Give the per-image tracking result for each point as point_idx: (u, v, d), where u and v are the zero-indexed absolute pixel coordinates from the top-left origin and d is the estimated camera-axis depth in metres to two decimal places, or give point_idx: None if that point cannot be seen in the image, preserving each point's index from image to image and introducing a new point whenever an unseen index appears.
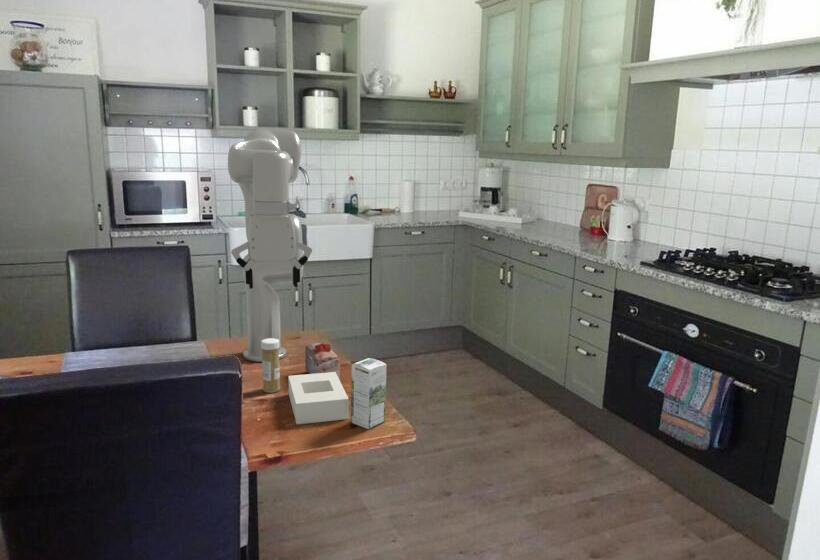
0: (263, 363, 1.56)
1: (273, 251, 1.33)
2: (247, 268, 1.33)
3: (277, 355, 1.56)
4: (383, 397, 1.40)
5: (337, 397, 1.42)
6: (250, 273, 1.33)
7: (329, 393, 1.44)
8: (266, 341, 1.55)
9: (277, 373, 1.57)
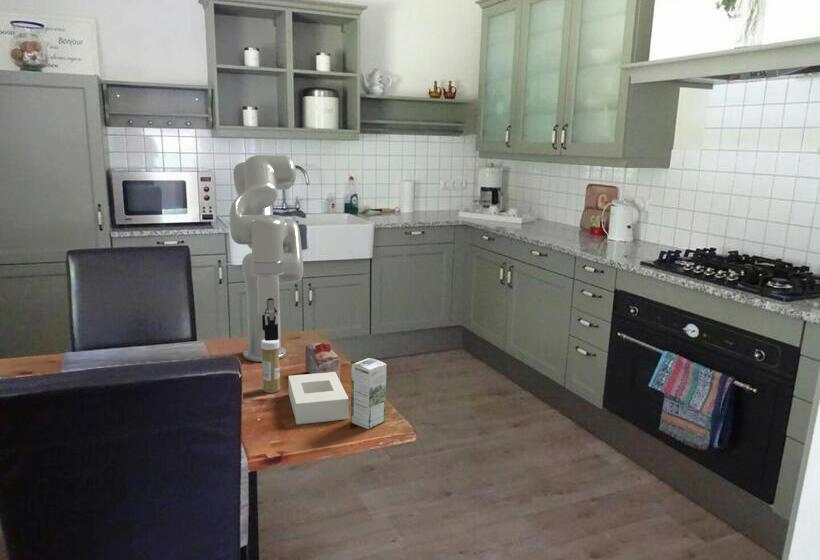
0: (263, 363, 1.56)
1: None
2: None
3: (277, 355, 1.56)
4: (383, 397, 1.40)
5: (337, 397, 1.42)
6: (277, 326, 1.50)
7: (329, 393, 1.44)
8: (266, 341, 1.55)
9: (277, 373, 1.57)
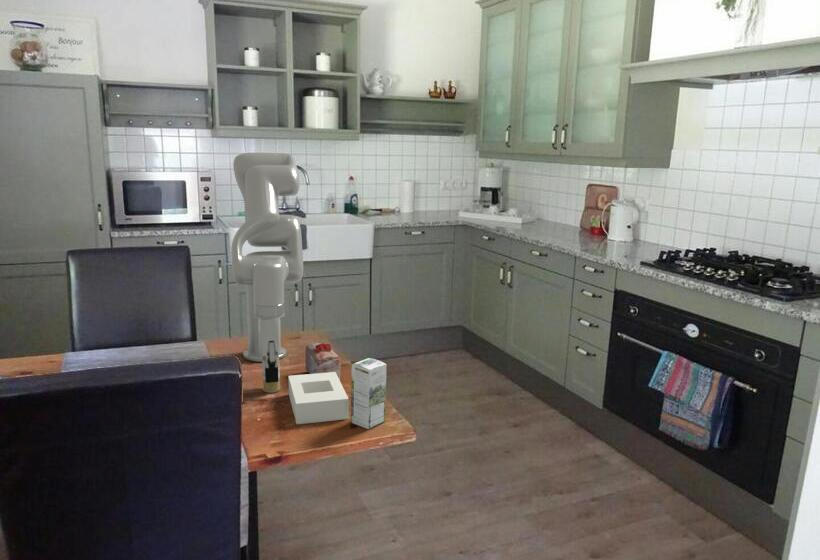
0: (263, 363, 1.56)
1: None
2: None
3: None
4: (383, 397, 1.40)
5: (337, 397, 1.42)
6: None
7: (329, 393, 1.44)
8: None
9: None
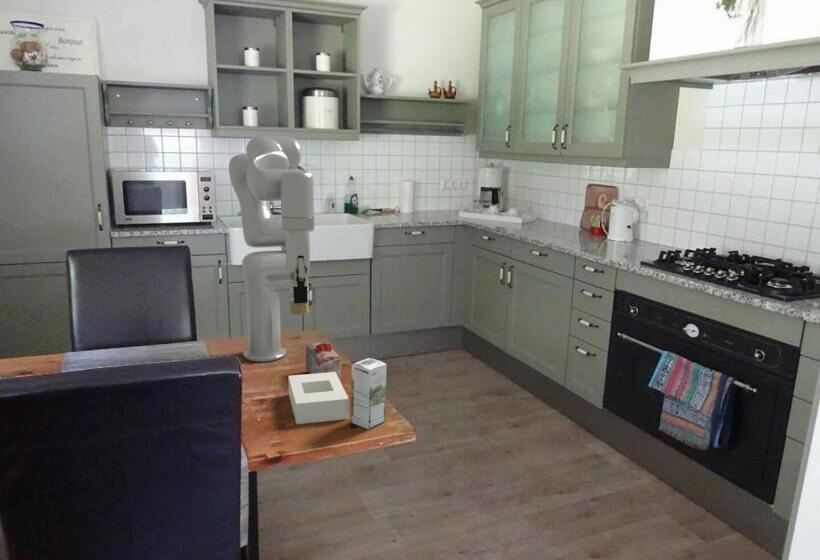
0: (291, 282, 1.45)
1: None
2: None
3: (306, 274, 1.45)
4: (383, 397, 1.40)
5: (337, 397, 1.42)
6: None
7: (329, 393, 1.44)
8: None
9: None
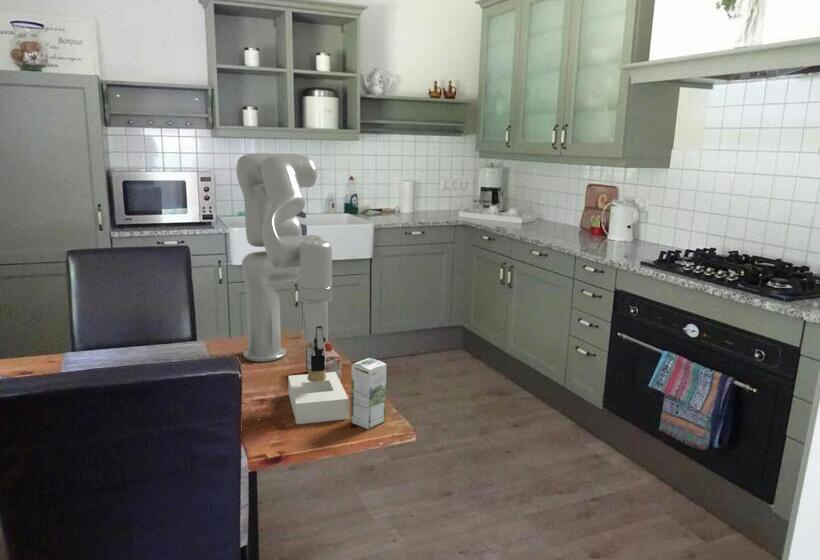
0: (308, 350, 1.45)
1: None
2: None
3: None
4: (383, 397, 1.40)
5: (337, 397, 1.42)
6: (324, 356, 1.45)
7: (329, 393, 1.44)
8: None
9: None
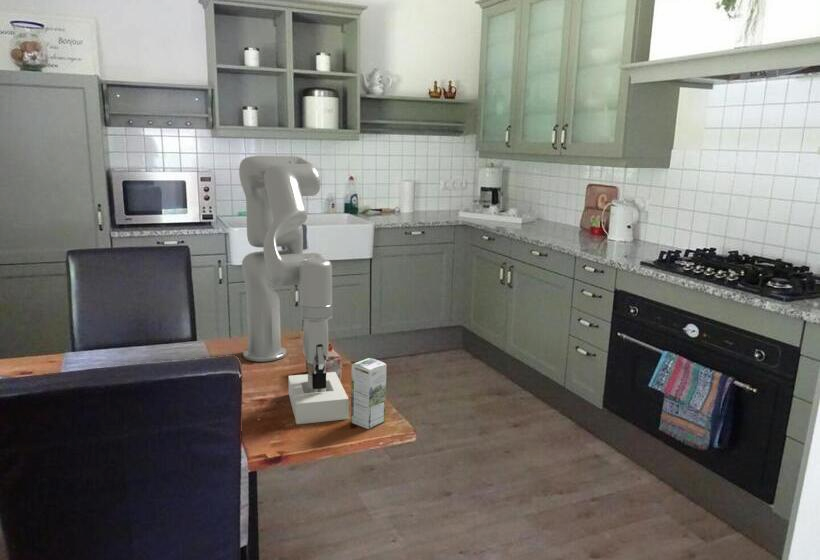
0: (309, 378, 1.47)
1: None
2: None
3: None
4: (383, 397, 1.40)
5: (337, 397, 1.42)
6: (325, 374, 1.45)
7: (329, 393, 1.44)
8: None
9: (324, 388, 1.47)
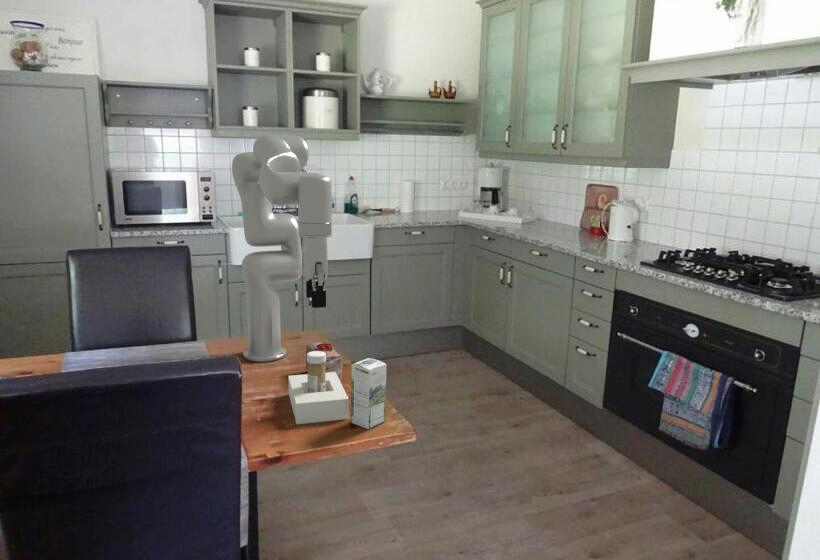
0: (309, 377, 1.47)
1: None
2: None
3: (324, 369, 1.47)
4: (383, 397, 1.40)
5: (337, 397, 1.42)
6: (325, 292, 1.39)
7: (329, 393, 1.44)
8: (312, 354, 1.46)
9: (323, 388, 1.48)
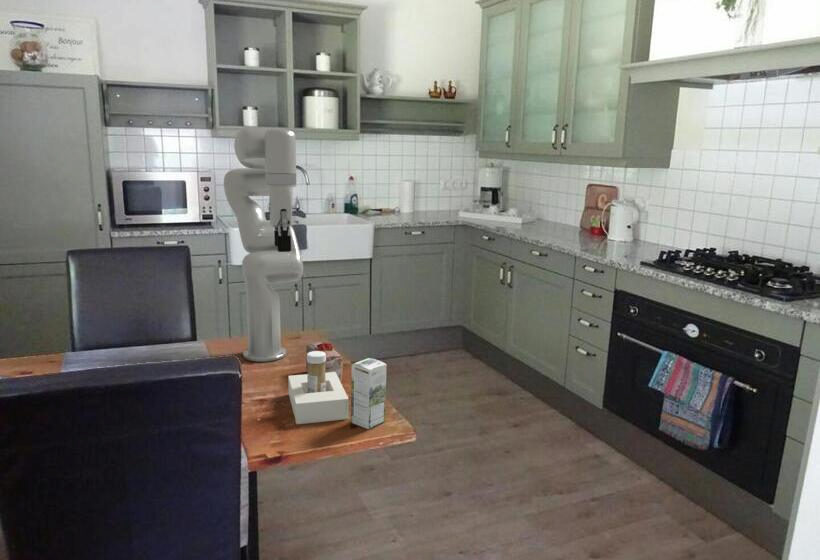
0: (309, 377, 1.47)
1: None
2: None
3: (324, 369, 1.47)
4: (383, 397, 1.40)
5: (337, 397, 1.42)
6: (290, 237, 1.51)
7: (329, 393, 1.44)
8: (312, 354, 1.46)
9: (323, 388, 1.48)
